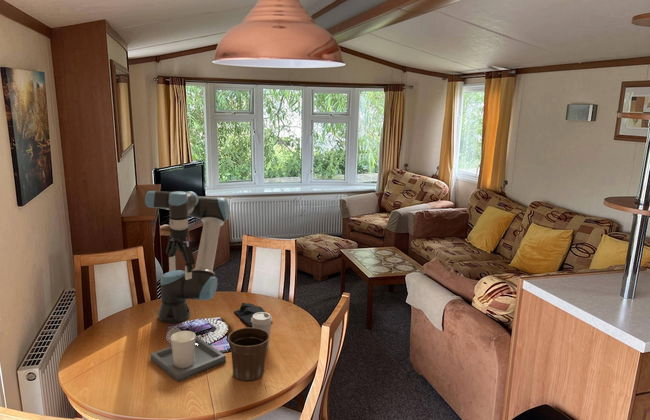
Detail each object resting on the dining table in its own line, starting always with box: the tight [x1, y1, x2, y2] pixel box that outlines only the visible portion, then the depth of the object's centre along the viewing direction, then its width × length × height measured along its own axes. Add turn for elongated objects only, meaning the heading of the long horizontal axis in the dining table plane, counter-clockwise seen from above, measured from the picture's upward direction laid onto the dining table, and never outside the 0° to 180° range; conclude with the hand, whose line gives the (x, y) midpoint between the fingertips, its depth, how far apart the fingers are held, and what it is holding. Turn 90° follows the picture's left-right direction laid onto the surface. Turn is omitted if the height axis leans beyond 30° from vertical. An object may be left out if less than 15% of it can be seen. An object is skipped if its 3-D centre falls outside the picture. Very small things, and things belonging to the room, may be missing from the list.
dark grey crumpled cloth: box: [233, 302, 273, 327], centre depth 243 cm, size 15×22×5 cm
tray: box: [150, 336, 227, 383], centre depth 200 cm, size 22×22×3 cm
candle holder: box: [170, 330, 197, 368], centre depth 196 cm, size 10×10×12 cm
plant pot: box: [227, 327, 270, 381], centre depth 192 cm, size 16×16×16 cm
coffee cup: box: [251, 311, 274, 350], centre depth 213 cm, size 10×10×15 cm
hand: (180, 274), depth 210 cm, fingers open, 13 cm apart
